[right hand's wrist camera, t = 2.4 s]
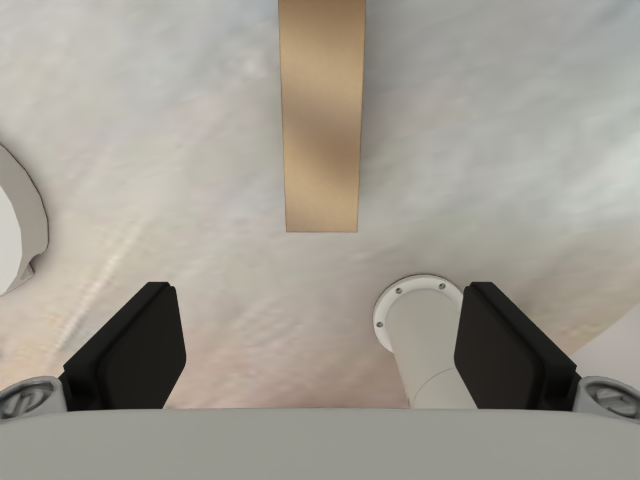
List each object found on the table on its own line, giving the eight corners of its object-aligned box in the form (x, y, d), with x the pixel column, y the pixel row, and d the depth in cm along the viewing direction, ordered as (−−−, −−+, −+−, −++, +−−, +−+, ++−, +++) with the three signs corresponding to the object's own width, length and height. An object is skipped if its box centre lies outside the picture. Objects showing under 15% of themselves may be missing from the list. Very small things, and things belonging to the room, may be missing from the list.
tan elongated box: (290, 14, 35) (276, -28, 25) (353, 14, 35) (367, -28, 25) (294, 202, 42) (286, 232, 31) (348, 202, 42) (357, 232, 31)
